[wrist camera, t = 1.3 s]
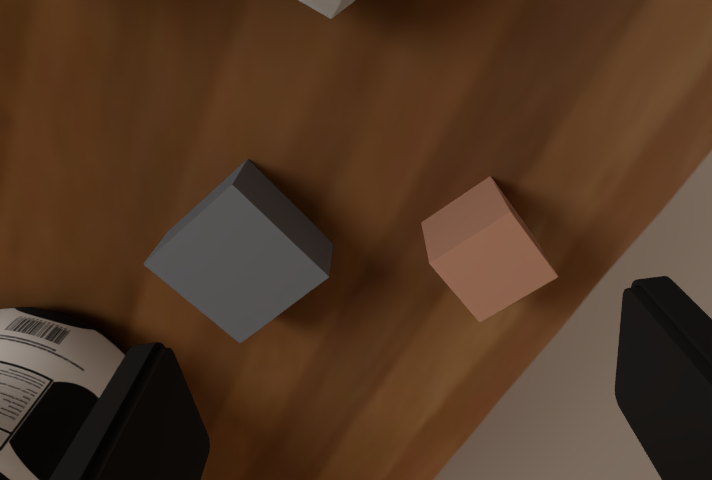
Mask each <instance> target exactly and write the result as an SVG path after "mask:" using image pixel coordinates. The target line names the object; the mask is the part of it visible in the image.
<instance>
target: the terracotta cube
mask: <svg viewBox="0 0 712 480" xmlns="http://www.w3.org/2000/svg"><path fill="white" fill-rule="evenodd" d="M422 229H423V234H424V239H425V244H426V249H427V254H428V259H429V264H430V265H431V266H432V267H433V268H434V270H435V271H436V272H437V273H438V274H439V275H440V277H441V278H442V279H443V280H444V281H445V282H446V284H447V285H448V286H449V287H450V288H451V289H452V291H453V292H454V293H455V294H456V295H457V296H458V298H459V299H460V300H461V301H462V302H463V304H464V305H465V306H466V307H467V308H468V309H469V311H470V312H471V313H472V314H473V315H474V316H475V318H476V319H477V320H478V321H479V322H481V321H483V320H485V319H487V318H488V317H490V316H492V315H494V314H495V313H497V312H499V311H500V310H502V309H504V308H506V307H507V306H509V305H511V304H513V303H514V302H516V301H518V300H520V299H521V298H523V297H525V296H526V295H528V294H530V293H532V292H533V291H535V290H537V289H539V288H540V287H542V286H544V285H545V284H547V283H549V282H551V281H552V280H554V279H556V278H558V276H557V274H556V272H555V271H554V269H553V267H552V266H551V264H550V262H549V261H548V259H547V257H546V256H545V254H544V252H543V251H542V249H541V247H540V245H539V244H538V242H537V240H536V239H535V237H534V235H533V234H532V233H531V231H530V230H529V228H528V227H527V226H526V224H525V223H524V222H523V220H522V219H521V217H520V216H519V215H518V213H517V212H516V210H515V209H514V208H513V206H512V205H511V204H510V202H509V201H508V199H507V198H506V197H505V195H504V194H503V193H502V191H501V190H500V188H499V187H498V186H497V184H496V183H495V182H494V180H493V179H492V177H491V176H490V177H488V178H487V179H485V180H484V181H482V182H481V183H479V184H478V185H476V186H475V187H473V188H472V189H470V190H469V191H467V192H466V193H465V194H463V195H462V196H460V197H459V198H457V199H456V200H454V201H453V202H451V203H450V204H448V205H447V206H445V207H444V208H442V209H441V210H439V211H438V212H436V213H435V214H434V215H432V216H431V217H429V218H428V219H426V220H425V221H423V222H422Z"/></svg>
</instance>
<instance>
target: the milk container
mask: <svg viewBox="0 0 712 480" xmlns="http://www.w3.org/2000/svg"><path fill="white" fill-rule="evenodd" d="M125 355H126V354H125V353H124V352H123V351H122V350H121V349H120V348H119V347H118V346H117V345H116V344H115V343H114V342H112V341H111V340H110V339H109V338H108V337H107V336H105V335H104V334H103V333H101V332H100V331H98V330H97V329H95V328H93V327H91V326H89V325H87V324H85V323H83V322H81V321H79V320H77V319H75V318H73V317H70V316H68V315H65V314H61V313H58V312H53V311H49V310H44V309H39V308H33V307H17V308H4V309H0V480H49V479H50V477H51V476H52V474H53V472H54V471H55V469H56V468H57V466H58V464H59V463H60V461H61V459H62V458H63V456H64V455H65V453H66V451H67V450H68V448H69V446H70V445H71V443H72V441H73V440H74V438H75V437H76V435H77V433H78V432H79V430H80V428H81V427H82V425H83V424H84V422H85V420H86V419H87V417H88V415H89V414H90V412H91V410H92V409H93V407H94V406H95V404H96V402H97V401H98V399H99V397H100V396H101V394H102V393H103V391H104V389H105V388H106V386H107V384H108V383H109V381H110V379H111V378H112V376H113V375H114V373H115V371H116V370H117V368H118V366H119V365H120V363H121V361H122V360H123V358H124V357H125Z"/></svg>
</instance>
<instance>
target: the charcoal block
mask: <svg viewBox="0 0 712 480" xmlns="http://www.w3.org/2000/svg"><path fill="white" fill-rule="evenodd" d="M332 252H333V243H332V242H331V241H330V240H329V239H328V238H327V237H326V236H325V235H324V234H323V233H322V232H321V231H320V230H319V229H318V228H317V227H316V226H315V225H314V224H313V223H312V222H311V221H310V220H309V219H308V218H307V217H306V216H305V215H304V214H303V213H302V212H301V211H300V210H299V209H298V208H297V207H296V206H295V205H294V204H293V203H292V202H291V201H290V200H289V199H288V198H287V197H286V196H285V195H284V194H283V193H282V192H281V191H280V190H279V189H278V188H277V187H276V186H275V185H274V184H273V183H272V182H271V181H270V180H269V179H268V178H267V177H266V176H265V175H264V174H263V173H262V172H261V171H260V170H259V169H258V168H257V167H256V166H255V165H254V164H253V163H252V162H250V161H249V160H248V159H247V160H246V161H245V162H244V163H243V164H242V165H240V166H239V167H238V168H237V169H236V170H235V171H234V172H233V173H232V174H231V175H229V176H228V177H227V178H226V179H225V180H224V181H223V182H222V183H221V184H220V185H218V186H217V187H216V188H215V189H214V190H213V191H212V192H211V193H210V194H209V195H207V196H206V197H205V198H204V199H203V200H202V201H201V202H200V203H199V204H198V205H196V206H195V207H194V208H193V209H192V210H191V211H190V212H189V213H188V214H187V215H185V216H184V217H183V218H182V219H181V220H180V221H179V222H178V223H177V224H176V225H174V226H173V227H172V228H171V229H170V230H169V231H168V232H167V233H166V234H165V236H164V237H163V238H162V240H161V241H160V242H159V244H158V245H157V246H156V248H155V249H154V250H153V252H152V253H151V255H150V256H149V257H148V259H147V260H146V261H145V263H144V265H145V266H146V267H147V268H148V269H150V270H151V271H152V272H153V273H155V274H156V275H157V276H158V277H159V278H161V279H162V280H163V281H164V282H166V283H167V284H168V285H169V286H170V287H172V288H173V289H174V290H175V291H177V292H178V293H179V294H180V295H181V296H183V297H184V298H185V299H186V300H188V301H189V302H190V303H191V304H192V305H194V306H195V307H196V308H197V309H199V310H200V311H201V312H202V313H203V314H205V315H206V316H207V317H208V318H210V319H211V320H212V321H213V322H214V323H216V324H217V325H218V326H219V327H221V328H222V329H223V330H224V331H225V332H227V333H228V334H229V335H230V336H232V337H233V338H234V339H235V340H236V341H238V342H239V343H241V342H243V341H244V340H245V339H247V338H248V337H250V336H251V335H252V334H254V333H255V332H256V331H258V330H259V329H260V328H262V327H263V326H264V325H266V324H267V323H268V322H270V321H271V320H272V319H274V318H275V317H276V316H278V315H279V314H280V313H282V312H283V311H284V310H286V309H287V308H288V307H290V306H291V305H293V304H294V303H295V302H297V301H298V300H299V299H301V298H302V297H303V296H305V295H306V294H307V293H309V292H310V291H311V290H313V289H314V288H315V287H317V286H318V285H319V284H321V283H322V282H323V281H325V280H326V279H327V278H329V276H330V268H331V260H332Z"/></svg>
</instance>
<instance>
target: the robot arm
mask: <svg viewBox="0 0 712 480" xmlns="http://www.w3.org/2000/svg"><path fill="white" fill-rule="evenodd" d="M615 396H616V399H617V403H618V405H619V407H620V409H621V411H622V413H623V414H624V416H625V418H626V420H627V421H628V423H629V425H630V426H631V428H632V429H633V431H634V433H635V435H636V436H637V438H638V439H639V441H640V443H641V445H642V446H643V448H644V450H645V451H646V453H647V455H648V457H649V458H650V460H651V462H652V463H653V465H654V467H655V468H656V470H657V472H658V473H659V475H660V477H661V479H662V480H712V319H711V318H710V317H709V316H708V315H707V314H706V313H705V312H704V311H703V310H702V309H701V308H700V307H699V306H698V305H697V304H696V303H695V302H693V301H692V299H691V298H690V297H689V296H688V295H686V294H685V292H683V291H682V289H680V287H678V286H677V285H676V284H675V283H674V282H673V281H672V280H671V279H670V278H669V277H666V276H661V277H653V278H647V279H638V280H635V281H634V282H633V283H632V286H631V288H627V289H625V290H624V293H623V301H622V312H621V322H620V334H619V346H618V357H617V369H616V381H615ZM209 448H210V442H209V437H208V434H207V431H206V429H205V426H204V424H203V422H202V419H201V417H200V414H199V412H198V410H197V407H196V405H195V402H194V400H193V398H192V395H191V393H190V390H189V388H188V386H187V383H186V381H185V378H184V376H183V374H182V371H181V369H180V366H179V364H178V362H177V359H176V357H175V354H174V352H173V351H172V349H170V348H165V346H164V345H163V344H162V343H159V342H157V343H149V344H142V345H134V346H132V347H131V348H130V349H129V350H128V352H127V353H126V355H125V357H124V358H123V360H122V361H121V363H120V365H119V366H118V368H117V370H116V371H115V373H114V375H113V376H112V378H111V379H110V381H109V383H108V384H107V386H106V388H105V389H104V391H103V393H102V394H101V396H100V397H99V399H98V401H97V402H96V404H95V406H94V407H93V409H92V410H91V412H90V414H89V415H88V417H87V419H86V420H85V422H84V424H83V425H82V427H81V428H80V430H79V432H78V433H77V435H76V437H75V438H74V440H73V441H72V443H71V445H70V446H69V448H68V450H67V451H66V453H65V455H64V456H63V458H62V459H61V461H60V463H59V464H58V466H57V468H56V469H55V471H54V472H53V474H52V476H51V477H50V479H49V480H201V476H202V473H203V470H204V467H205V464H206V461H207V457H208V454H209Z"/></svg>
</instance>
